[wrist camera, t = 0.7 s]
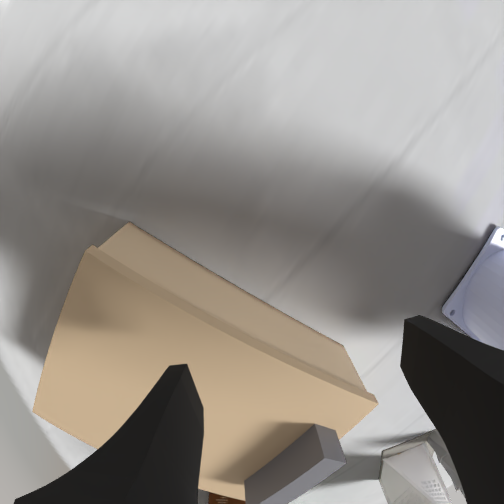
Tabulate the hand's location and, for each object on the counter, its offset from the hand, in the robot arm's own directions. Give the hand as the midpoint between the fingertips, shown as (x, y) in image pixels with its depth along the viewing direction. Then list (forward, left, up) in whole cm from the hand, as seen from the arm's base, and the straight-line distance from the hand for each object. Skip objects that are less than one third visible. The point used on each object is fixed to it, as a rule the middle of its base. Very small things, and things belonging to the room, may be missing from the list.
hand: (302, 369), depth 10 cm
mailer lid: (0, +8, -4) cm, 9 cm away
